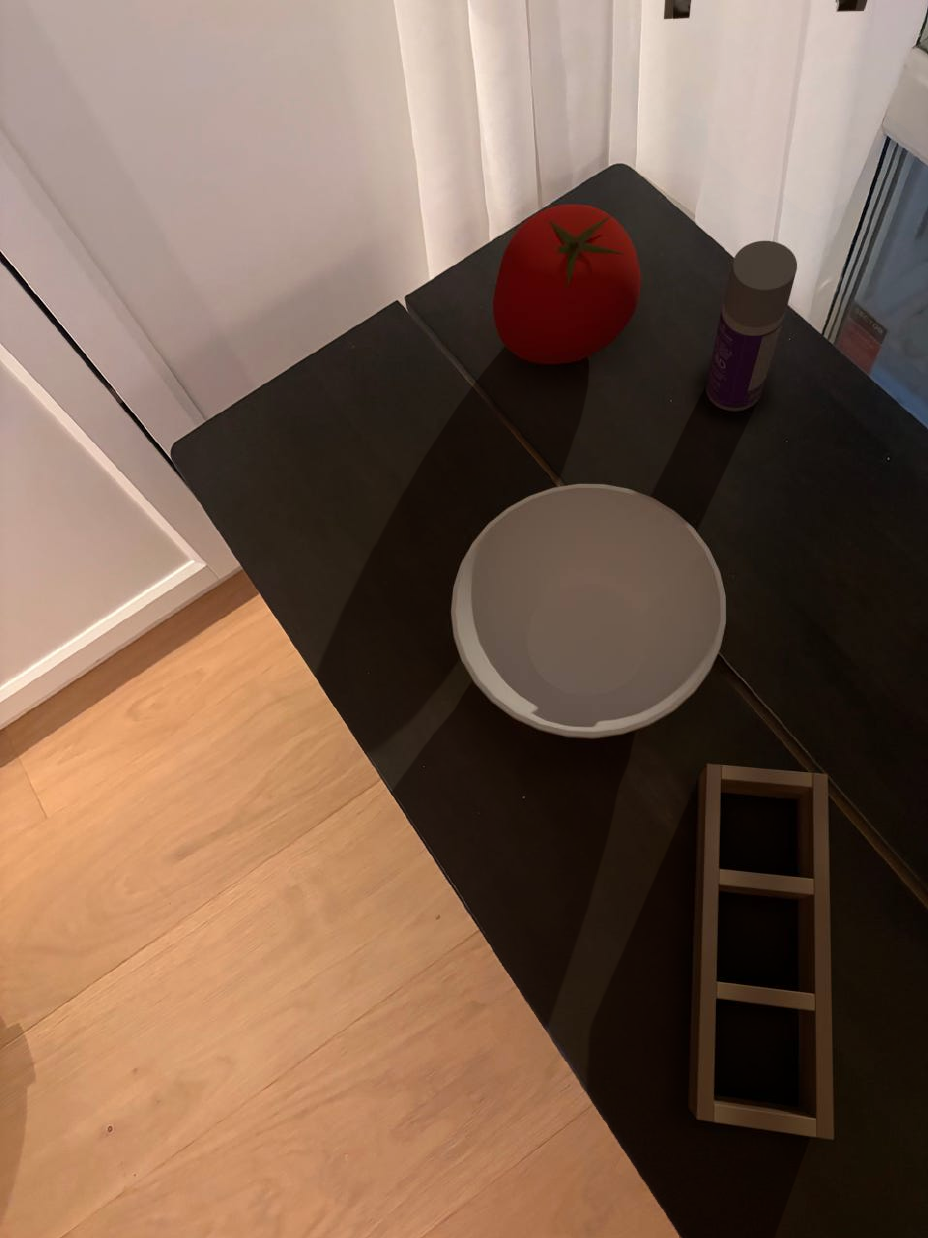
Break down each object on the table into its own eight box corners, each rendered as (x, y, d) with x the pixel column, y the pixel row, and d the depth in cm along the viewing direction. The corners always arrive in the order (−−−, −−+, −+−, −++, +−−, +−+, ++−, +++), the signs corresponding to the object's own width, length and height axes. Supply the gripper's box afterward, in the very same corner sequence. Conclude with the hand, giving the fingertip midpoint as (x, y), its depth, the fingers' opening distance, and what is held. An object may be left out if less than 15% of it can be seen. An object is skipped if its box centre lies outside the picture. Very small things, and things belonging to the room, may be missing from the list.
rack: (811, 787, 66) (827, 774, 62) (815, 1126, 59) (834, 1140, 54) (698, 777, 68) (706, 763, 63) (688, 1107, 60) (696, 1119, 55)
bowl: (428, 590, 76) (410, 548, 68) (640, 495, 76) (646, 442, 69) (525, 804, 68) (517, 784, 61) (759, 698, 69) (780, 665, 61)
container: (694, 392, 79) (717, 270, 65) (728, 356, 80) (757, 228, 66) (739, 421, 78) (772, 302, 64) (773, 384, 78) (812, 259, 64)
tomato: (465, 332, 84) (448, 241, 74) (578, 248, 86) (577, 148, 76) (552, 415, 80) (546, 331, 69) (669, 325, 82) (681, 230, 71)
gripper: (568, -241, 40) (573, 54, 52) (1083, -287, 36) (955, 41, 49) (579, -326, 42) (581, -22, 54) (1067, -376, 38) (947, -40, 51)
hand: (761, 8), depth 52 cm, fingers open, 8 cm apart
